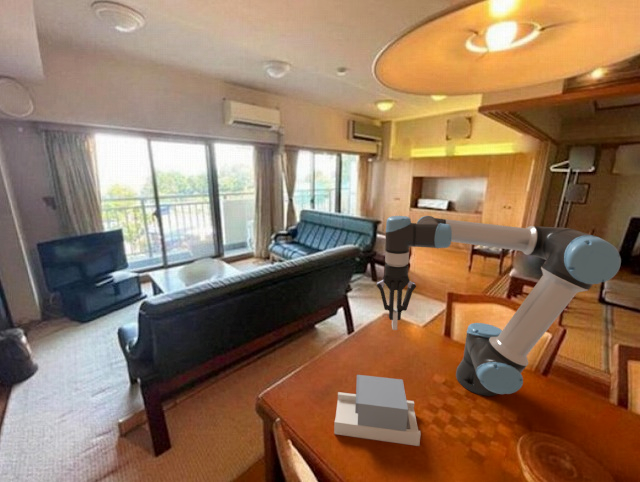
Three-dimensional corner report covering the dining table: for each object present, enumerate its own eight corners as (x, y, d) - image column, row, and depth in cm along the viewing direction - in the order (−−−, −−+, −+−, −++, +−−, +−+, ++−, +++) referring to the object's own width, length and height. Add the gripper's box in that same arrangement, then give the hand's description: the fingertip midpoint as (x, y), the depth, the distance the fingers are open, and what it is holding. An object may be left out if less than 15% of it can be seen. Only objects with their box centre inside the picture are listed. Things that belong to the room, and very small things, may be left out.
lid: (401, 399, 93) (402, 379, 91) (406, 431, 82) (408, 409, 80) (356, 393, 95) (356, 374, 94) (354, 424, 84) (355, 403, 82)
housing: (412, 412, 94) (413, 401, 93) (419, 446, 82) (420, 433, 81) (337, 402, 97) (338, 392, 96) (334, 434, 86) (334, 422, 85)
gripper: (414, 260, 95) (411, 322, 101) (375, 259, 97) (374, 321, 102) (419, 267, 88) (415, 334, 94) (377, 266, 90) (376, 332, 95)
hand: (394, 327), depth 98 cm, fingers closed
